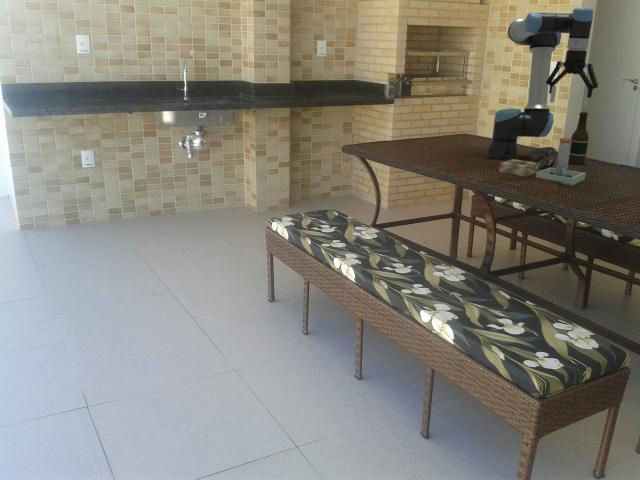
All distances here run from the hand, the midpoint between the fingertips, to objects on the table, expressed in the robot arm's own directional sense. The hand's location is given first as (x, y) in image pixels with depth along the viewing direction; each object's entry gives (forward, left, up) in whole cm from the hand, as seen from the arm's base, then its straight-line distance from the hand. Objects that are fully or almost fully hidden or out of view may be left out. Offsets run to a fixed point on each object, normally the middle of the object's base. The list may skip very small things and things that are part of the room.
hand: (568, 104), depth 249 cm
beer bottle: (-6, +38, -31) cm, 49 cm away
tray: (+2, -3, -31) cm, 31 cm away
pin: (+2, -4, -30) cm, 30 cm away
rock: (-13, +13, -31) cm, 36 cm away
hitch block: (-15, -6, -31) cm, 34 cm away
